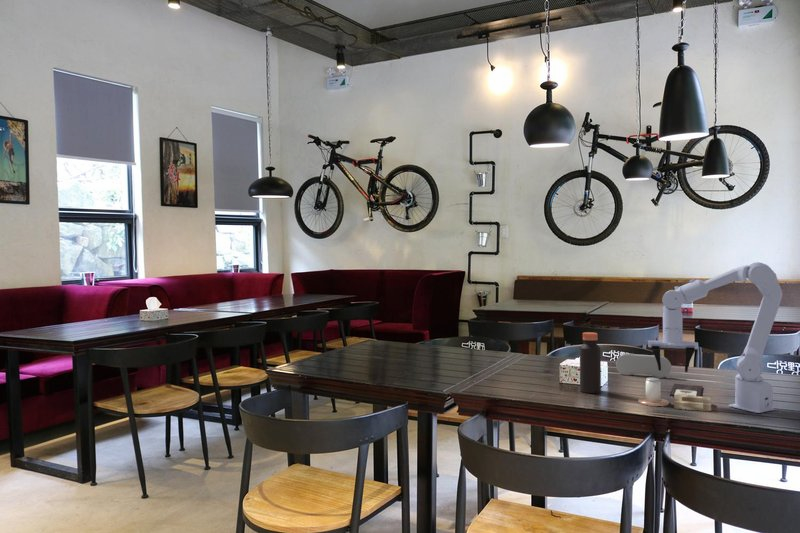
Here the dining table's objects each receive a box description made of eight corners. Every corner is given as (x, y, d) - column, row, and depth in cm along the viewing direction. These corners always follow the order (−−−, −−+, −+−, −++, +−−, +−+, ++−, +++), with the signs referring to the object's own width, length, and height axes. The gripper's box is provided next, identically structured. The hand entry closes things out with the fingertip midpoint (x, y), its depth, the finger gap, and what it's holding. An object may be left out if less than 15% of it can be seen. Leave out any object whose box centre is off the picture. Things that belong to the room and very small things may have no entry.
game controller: (671, 377, 231) (671, 355, 231) (670, 379, 229) (670, 356, 229) (616, 373, 240) (616, 352, 240) (615, 374, 238) (615, 353, 238)
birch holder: (709, 403, 193) (709, 397, 193) (711, 411, 184) (711, 405, 184) (674, 400, 197) (674, 394, 197) (674, 408, 188) (674, 402, 188)
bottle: (600, 394, 207) (600, 334, 206) (579, 393, 209) (578, 334, 209) (601, 389, 213) (600, 332, 213) (580, 388, 216) (580, 331, 215)
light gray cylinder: (663, 401, 194) (663, 379, 194) (653, 403, 192) (653, 381, 192) (652, 398, 198) (652, 376, 198) (642, 400, 196) (642, 378, 196)
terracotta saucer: (675, 404, 193) (675, 402, 193) (655, 407, 189) (655, 406, 189) (651, 397, 201) (651, 396, 201) (631, 401, 197) (631, 399, 197)
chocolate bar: (702, 386, 215) (700, 397, 199) (702, 388, 215) (700, 400, 199) (674, 383, 219) (669, 394, 203) (674, 386, 219) (669, 397, 203)
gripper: (647, 328, 195) (647, 371, 196) (698, 330, 189) (698, 374, 190) (648, 326, 202) (648, 367, 202) (697, 327, 196) (697, 370, 196)
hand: (672, 370), depth 196 cm, fingers open, 7 cm apart
